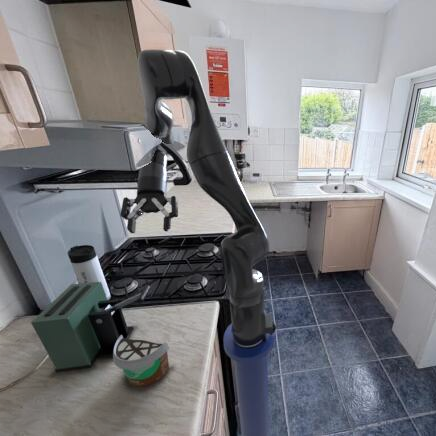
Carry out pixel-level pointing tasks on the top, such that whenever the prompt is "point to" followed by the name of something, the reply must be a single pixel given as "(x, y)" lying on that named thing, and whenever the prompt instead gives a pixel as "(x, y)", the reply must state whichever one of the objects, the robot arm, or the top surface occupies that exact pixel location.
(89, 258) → the travel mug
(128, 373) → the food container
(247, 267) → the robot arm
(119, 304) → the lever
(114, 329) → the bracket
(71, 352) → the toaster body
